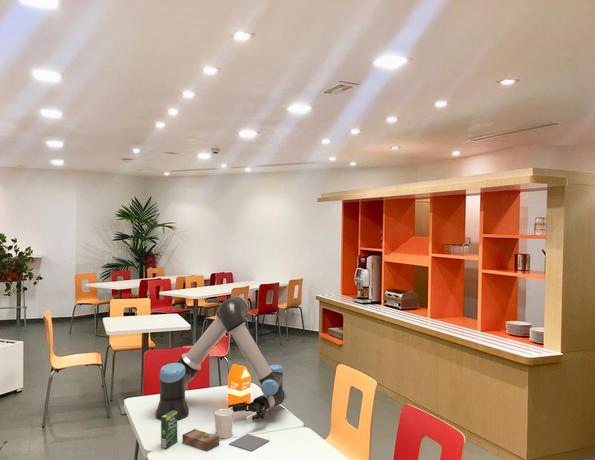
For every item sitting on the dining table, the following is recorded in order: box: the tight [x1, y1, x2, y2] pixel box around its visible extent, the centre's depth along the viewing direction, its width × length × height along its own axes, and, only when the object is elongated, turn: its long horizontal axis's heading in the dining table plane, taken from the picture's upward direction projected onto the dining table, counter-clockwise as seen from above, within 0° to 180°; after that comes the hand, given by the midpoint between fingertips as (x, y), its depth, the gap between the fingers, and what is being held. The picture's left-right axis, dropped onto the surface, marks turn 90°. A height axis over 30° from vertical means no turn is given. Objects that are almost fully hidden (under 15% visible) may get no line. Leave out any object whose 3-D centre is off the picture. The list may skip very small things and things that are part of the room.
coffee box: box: [160, 410, 178, 450], centre depth 208 cm, size 8×3×13 cm, turn 159°
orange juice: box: [227, 363, 252, 405], centre depth 256 cm, size 8×9×20 cm
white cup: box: [214, 408, 234, 439], centre depth 218 cm, size 8×8×10 cm
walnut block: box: [182, 428, 220, 452], centre depth 209 cm, size 14×7×5 cm, turn 57°
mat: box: [228, 433, 270, 453], centre depth 210 cm, size 12×12×1 cm
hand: (234, 417), depth 223 cm, fingers open, 13 cm apart
